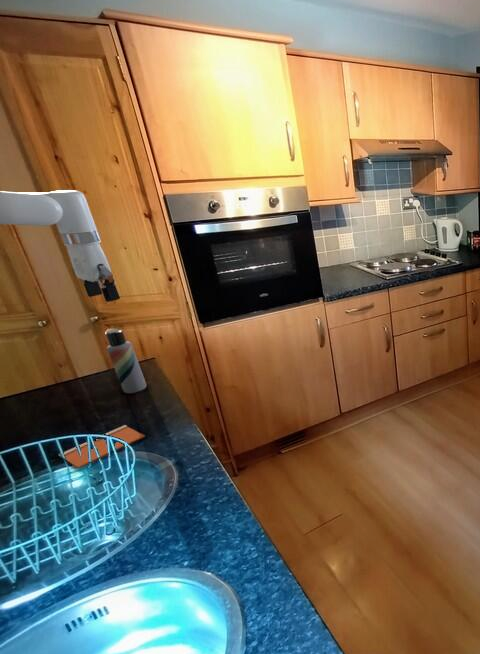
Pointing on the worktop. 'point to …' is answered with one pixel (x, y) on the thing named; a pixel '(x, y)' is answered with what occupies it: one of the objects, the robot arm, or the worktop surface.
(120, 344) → the lotion bottle
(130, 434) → the orange flat block
